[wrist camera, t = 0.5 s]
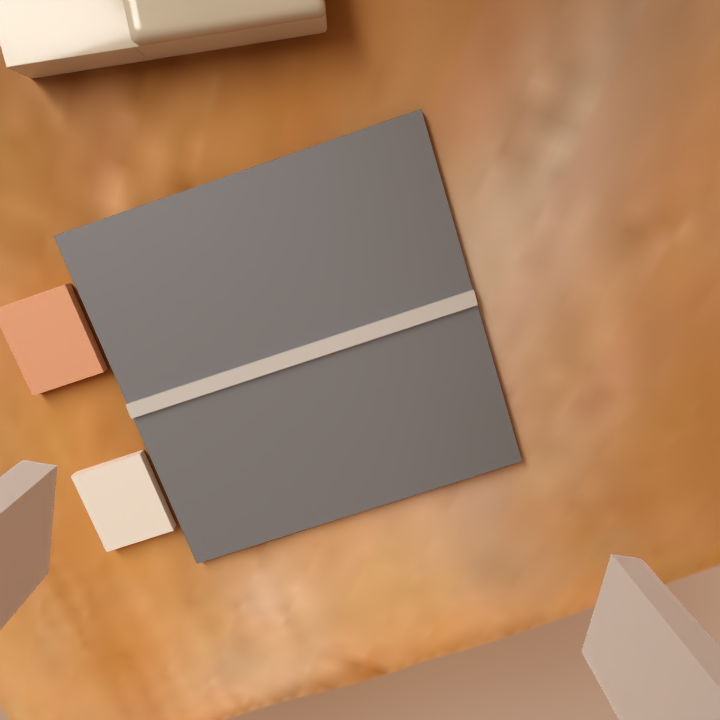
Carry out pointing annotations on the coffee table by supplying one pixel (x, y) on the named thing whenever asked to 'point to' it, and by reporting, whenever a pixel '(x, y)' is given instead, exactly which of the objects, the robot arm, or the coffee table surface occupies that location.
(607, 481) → the coffee table surface
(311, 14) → the electrical outlet
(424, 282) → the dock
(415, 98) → the coffee table surface
